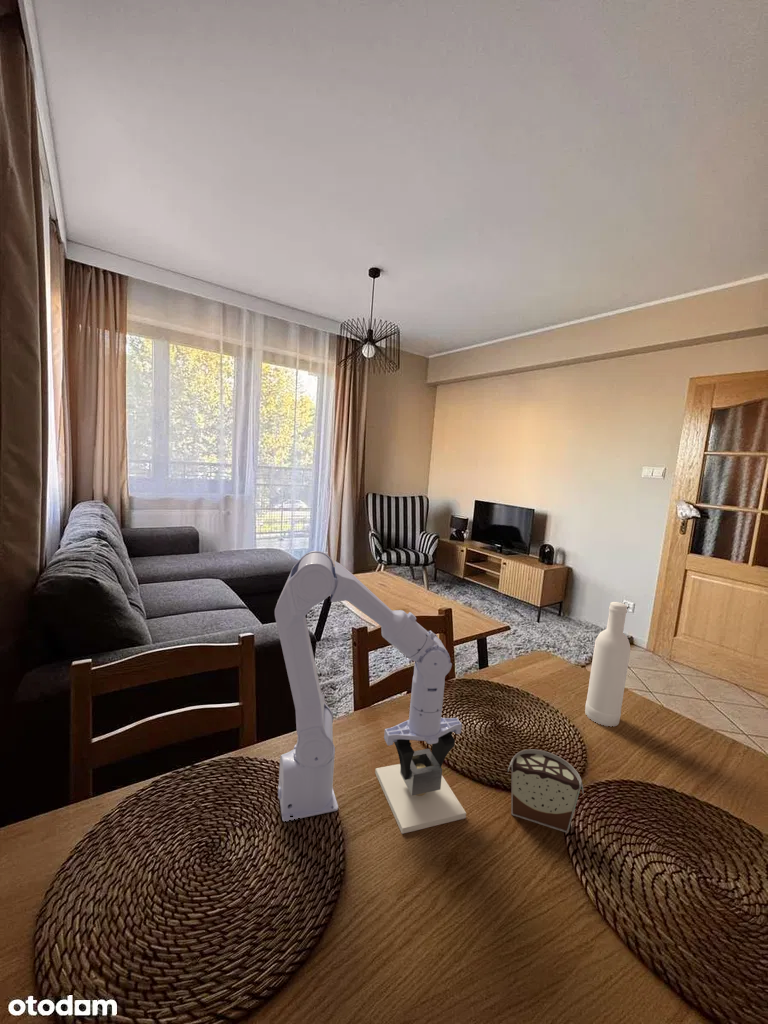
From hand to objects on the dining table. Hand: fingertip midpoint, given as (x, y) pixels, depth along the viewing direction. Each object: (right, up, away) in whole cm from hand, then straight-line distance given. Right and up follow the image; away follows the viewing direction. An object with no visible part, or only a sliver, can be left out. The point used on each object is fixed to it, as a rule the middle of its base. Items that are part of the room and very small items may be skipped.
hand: (419, 772), depth 78 cm
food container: (+21, -6, -1) cm, 22 cm away
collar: (0, -2, 0) cm, 2 cm away
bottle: (+49, -5, +30) cm, 57 cm away
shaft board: (0, -4, +1) cm, 4 cm away
